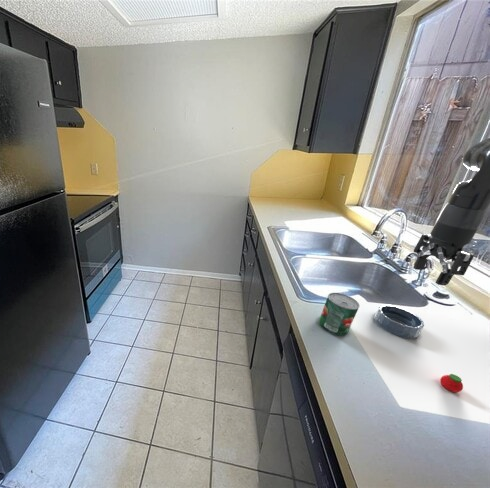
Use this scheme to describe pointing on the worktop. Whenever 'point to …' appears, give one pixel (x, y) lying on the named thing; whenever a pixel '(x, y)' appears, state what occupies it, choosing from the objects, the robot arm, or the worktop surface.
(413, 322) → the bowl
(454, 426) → the worktop surface
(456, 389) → the strawberry
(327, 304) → the canned tomato
